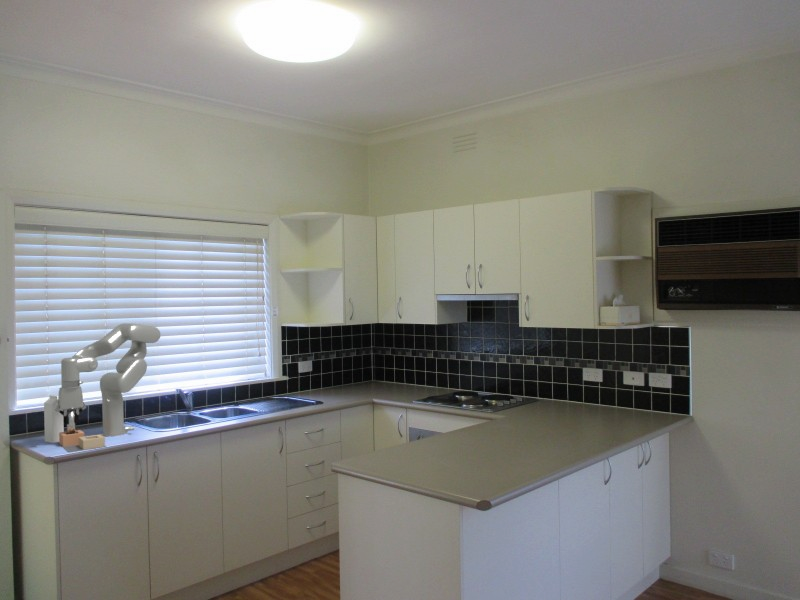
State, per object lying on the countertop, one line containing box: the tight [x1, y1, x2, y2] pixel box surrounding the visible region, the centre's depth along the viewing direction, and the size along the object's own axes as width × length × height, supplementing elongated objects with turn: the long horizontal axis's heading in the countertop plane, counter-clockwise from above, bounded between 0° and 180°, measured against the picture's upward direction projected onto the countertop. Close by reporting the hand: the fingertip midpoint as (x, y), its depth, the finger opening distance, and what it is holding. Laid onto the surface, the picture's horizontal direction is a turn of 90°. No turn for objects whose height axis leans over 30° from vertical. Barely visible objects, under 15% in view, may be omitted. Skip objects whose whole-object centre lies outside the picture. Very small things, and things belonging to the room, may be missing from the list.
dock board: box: [57, 429, 107, 453], centre depth 304 cm, size 16×24×6 cm, turn 37°
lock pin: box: [66, 408, 76, 435], centre depth 307 cm, size 4×4×13 cm
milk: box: [43, 395, 65, 444], centre depth 318 cm, size 6×6×22 cm
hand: (71, 423), depth 307 cm, fingers closed on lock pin, 3 cm apart
